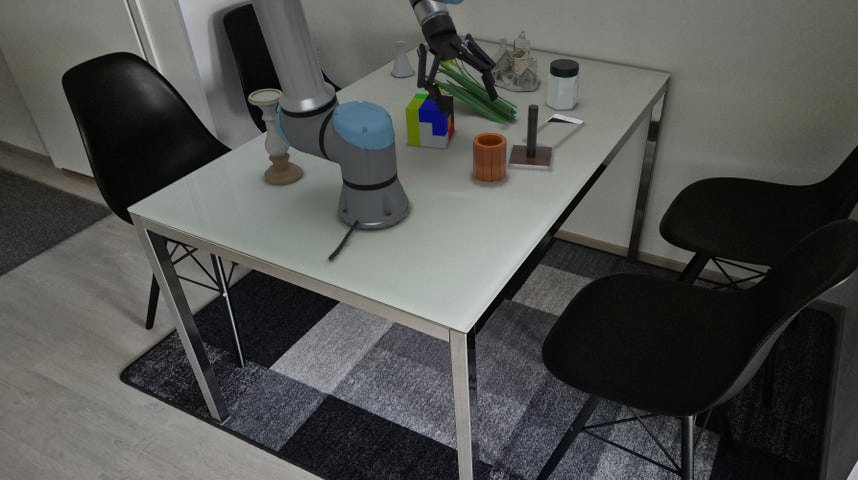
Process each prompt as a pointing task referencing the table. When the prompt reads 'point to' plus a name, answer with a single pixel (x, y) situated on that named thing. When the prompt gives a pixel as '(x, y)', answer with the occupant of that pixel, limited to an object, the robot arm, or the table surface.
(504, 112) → the daffodil flowers
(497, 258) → the table surface
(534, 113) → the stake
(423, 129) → the puzzle toy
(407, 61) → the flask
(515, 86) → the ceramic cottage
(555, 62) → the jar
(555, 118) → the cell phone
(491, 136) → the orange hollow cylinder
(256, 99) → the candle holder
